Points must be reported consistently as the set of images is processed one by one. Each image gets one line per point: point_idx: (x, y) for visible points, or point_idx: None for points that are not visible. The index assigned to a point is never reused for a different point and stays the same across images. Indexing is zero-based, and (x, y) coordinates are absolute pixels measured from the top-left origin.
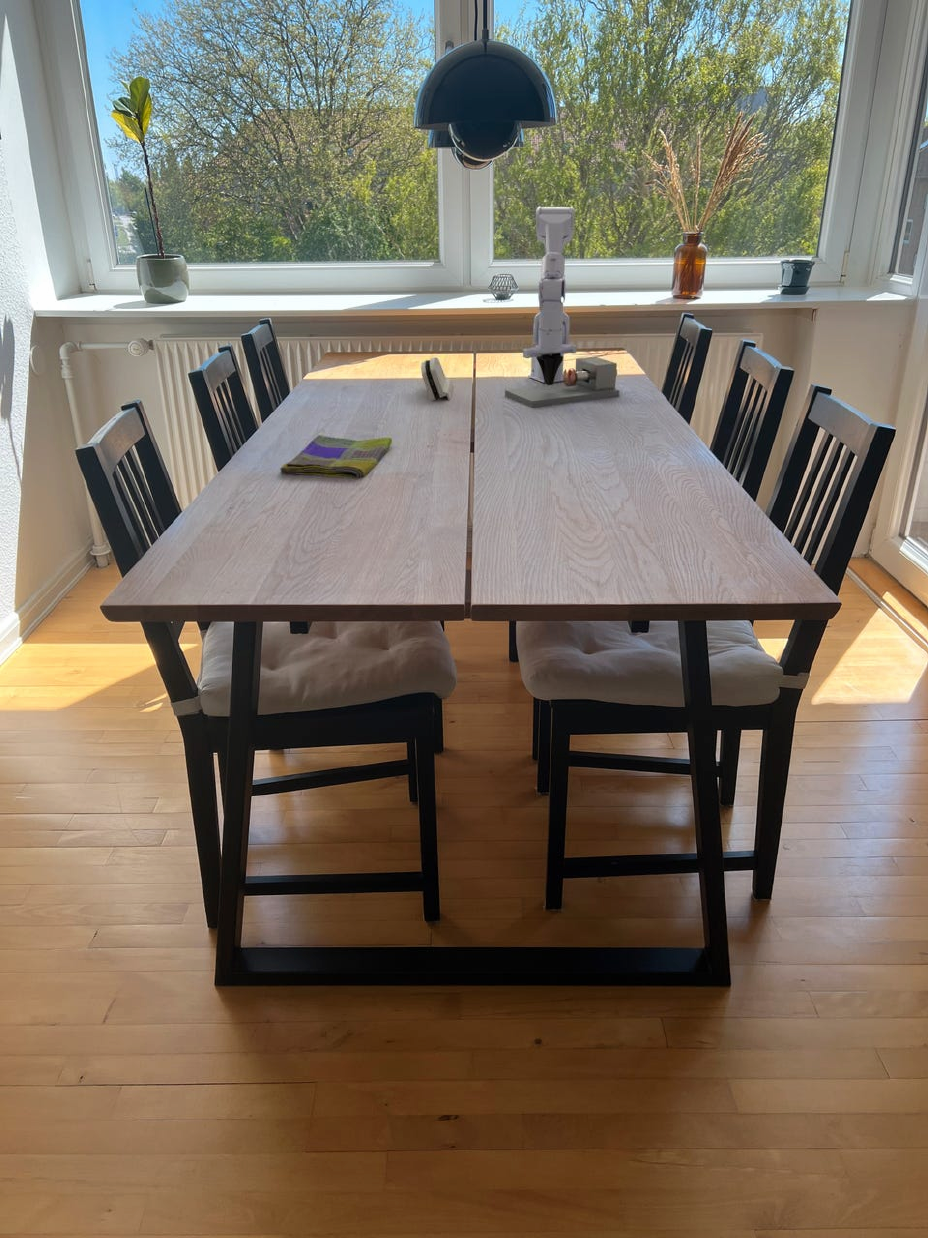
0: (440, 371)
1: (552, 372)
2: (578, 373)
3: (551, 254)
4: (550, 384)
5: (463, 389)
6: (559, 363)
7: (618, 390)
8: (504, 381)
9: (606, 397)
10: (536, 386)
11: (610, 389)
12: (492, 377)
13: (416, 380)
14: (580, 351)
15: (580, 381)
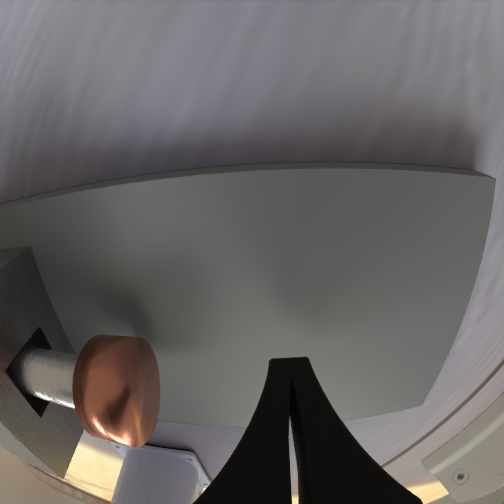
0: (484, 466)
1: (287, 429)
2: (63, 387)
3: None
4: (293, 357)
5: (432, 443)
6: (222, 494)
7: None
8: (291, 480)
9: (13, 201)
10: None
11: None
12: (294, 494)
13: (428, 478)
14: (78, 488)
15: None
